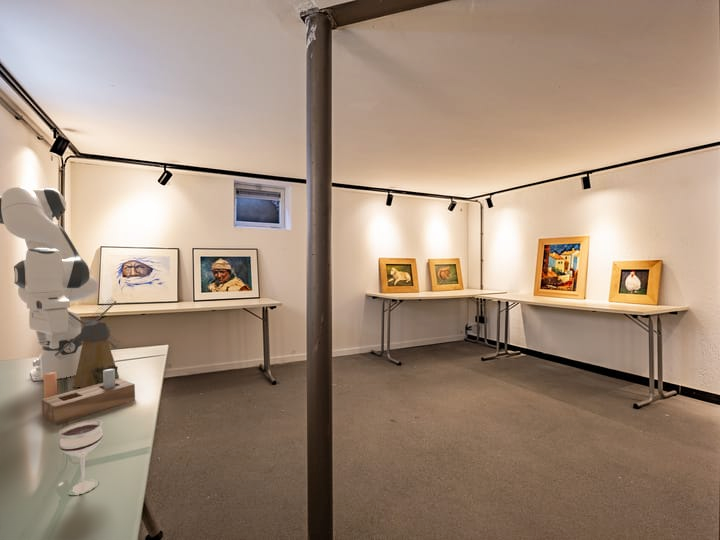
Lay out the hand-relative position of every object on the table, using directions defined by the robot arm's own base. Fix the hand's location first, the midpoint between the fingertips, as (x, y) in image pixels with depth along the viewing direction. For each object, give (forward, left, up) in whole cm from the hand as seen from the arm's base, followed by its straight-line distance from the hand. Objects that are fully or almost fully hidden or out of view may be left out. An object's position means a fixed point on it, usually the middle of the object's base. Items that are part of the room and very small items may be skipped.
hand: (48, 346), depth 108 cm
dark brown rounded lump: (+1, +14, -19) cm, 23 cm away
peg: (0, 0, -18) cm, 18 cm away
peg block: (+12, +6, -18) cm, 23 cm away
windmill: (-13, +17, -19) cm, 28 cm away
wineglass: (+55, -11, -19) cm, 59 cm away
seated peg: (+12, +11, -18) cm, 24 cm away
